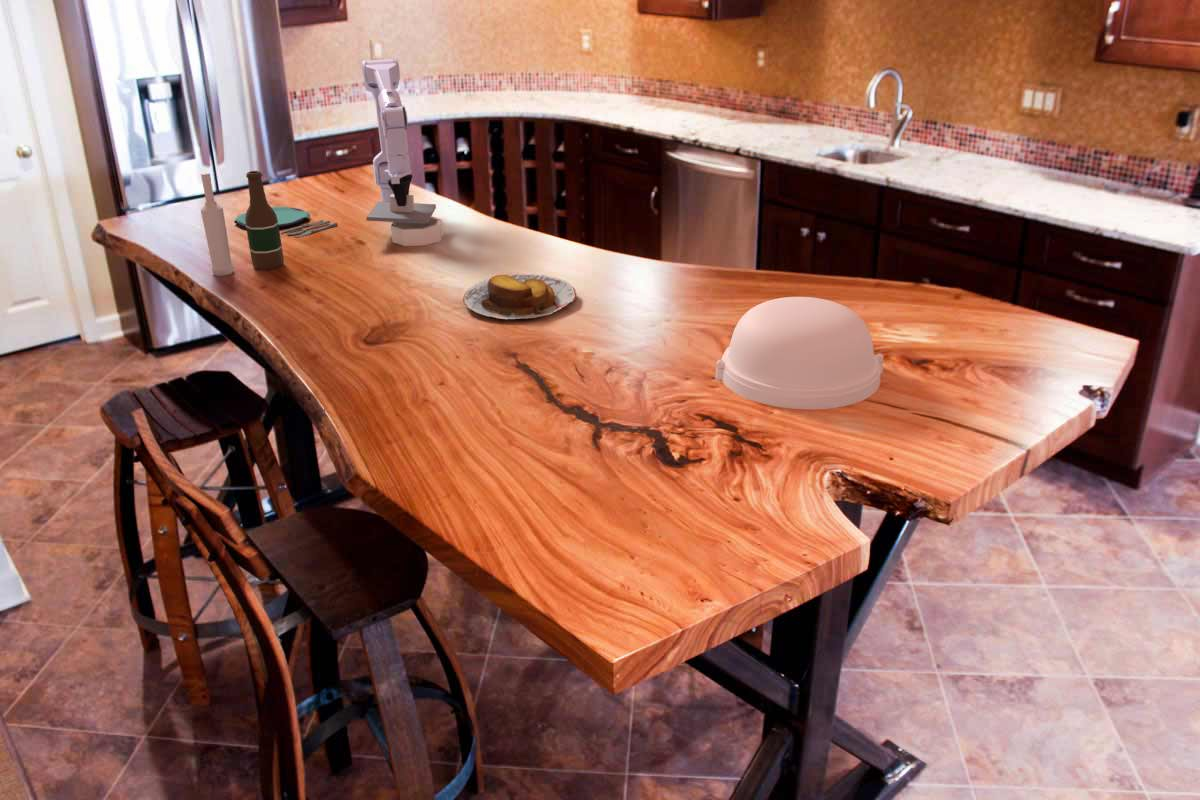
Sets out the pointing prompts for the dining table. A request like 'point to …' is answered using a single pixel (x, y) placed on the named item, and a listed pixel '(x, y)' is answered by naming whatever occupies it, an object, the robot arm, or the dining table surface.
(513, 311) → the food on plate
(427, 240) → the bowl
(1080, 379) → the dining table surface
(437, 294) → the dining table surface
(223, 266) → the bottle
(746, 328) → the dome cover
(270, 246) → the beer bottle
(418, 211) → the lid
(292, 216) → the cutlery set
